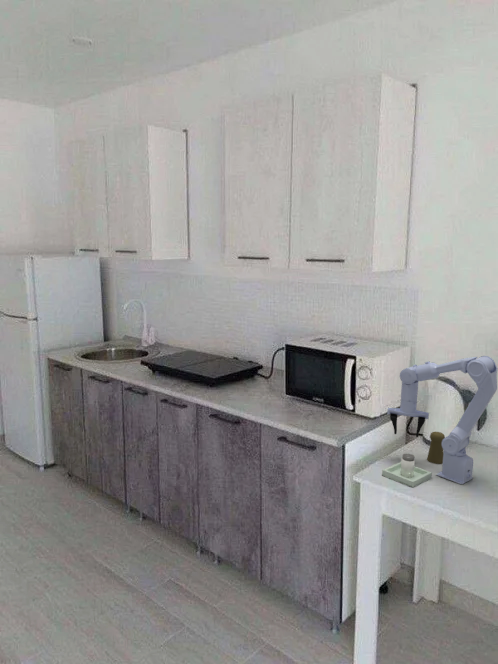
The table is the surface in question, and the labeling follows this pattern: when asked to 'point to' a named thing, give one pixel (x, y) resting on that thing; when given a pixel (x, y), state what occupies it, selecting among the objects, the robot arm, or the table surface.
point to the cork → (436, 448)
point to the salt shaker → (407, 465)
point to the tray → (394, 474)
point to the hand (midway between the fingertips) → (406, 434)
